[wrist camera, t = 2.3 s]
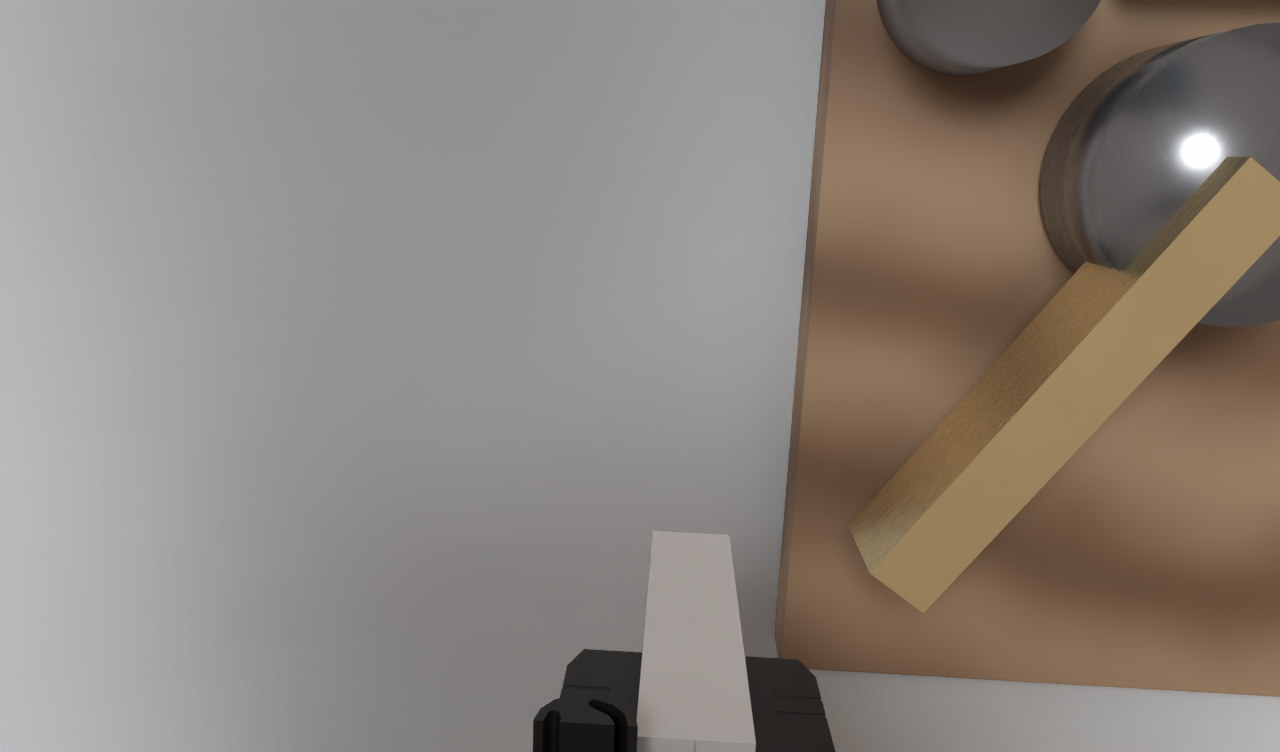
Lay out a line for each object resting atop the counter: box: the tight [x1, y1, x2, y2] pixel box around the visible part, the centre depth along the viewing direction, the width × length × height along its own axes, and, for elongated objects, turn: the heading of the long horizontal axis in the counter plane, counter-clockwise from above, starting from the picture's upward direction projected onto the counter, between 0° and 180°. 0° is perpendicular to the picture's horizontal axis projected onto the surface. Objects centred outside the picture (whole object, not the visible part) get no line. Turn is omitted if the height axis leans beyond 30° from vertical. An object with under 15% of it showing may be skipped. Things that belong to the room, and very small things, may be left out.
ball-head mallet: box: [849, 22, 1280, 613], centre depth 23 cm, size 16×7×5 cm, turn 143°
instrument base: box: [775, 0, 1280, 697], centre depth 25 cm, size 24×19×5 cm
